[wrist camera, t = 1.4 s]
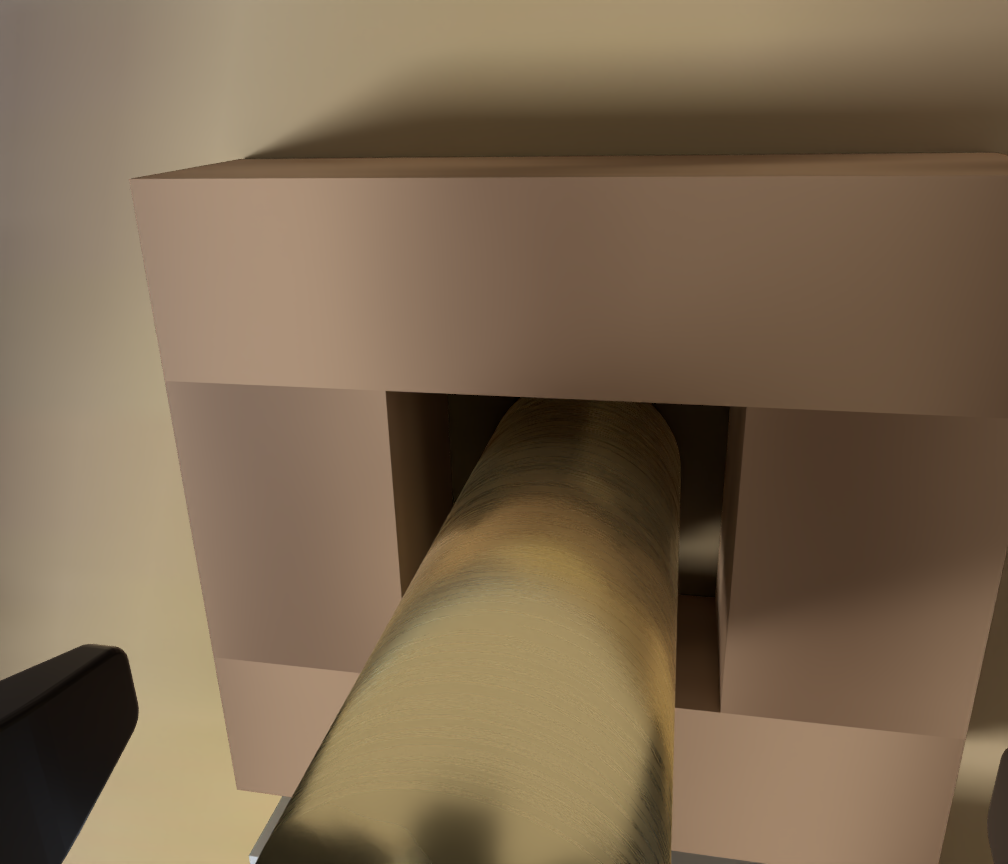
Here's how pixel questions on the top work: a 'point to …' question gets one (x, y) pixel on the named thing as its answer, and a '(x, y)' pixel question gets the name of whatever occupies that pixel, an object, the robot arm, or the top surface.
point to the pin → (519, 665)
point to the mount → (614, 377)
